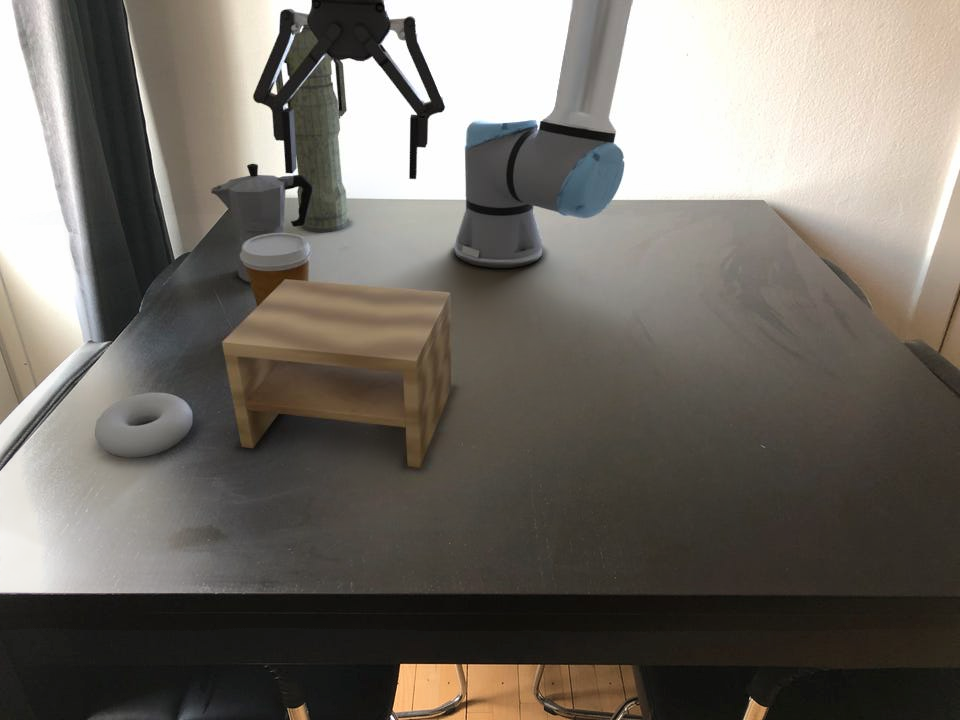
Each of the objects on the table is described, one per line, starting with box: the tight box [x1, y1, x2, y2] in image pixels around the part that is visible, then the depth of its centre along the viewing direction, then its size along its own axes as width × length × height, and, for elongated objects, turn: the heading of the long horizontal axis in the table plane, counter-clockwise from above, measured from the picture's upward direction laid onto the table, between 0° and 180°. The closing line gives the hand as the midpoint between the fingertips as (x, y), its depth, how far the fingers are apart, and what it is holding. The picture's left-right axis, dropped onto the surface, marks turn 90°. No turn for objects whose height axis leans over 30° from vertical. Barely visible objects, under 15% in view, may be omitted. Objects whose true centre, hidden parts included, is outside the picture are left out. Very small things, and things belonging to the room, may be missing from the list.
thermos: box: [275, 25, 349, 233], centre depth 134 cm, size 9×12×35 cm
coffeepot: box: [210, 163, 313, 283], centre depth 118 cm, size 15×9×18 cm, turn 113°
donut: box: [94, 392, 193, 458], centre depth 81 cm, size 10×4×10 cm
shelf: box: [221, 279, 452, 469], centre depth 83 cm, size 16×20×13 cm
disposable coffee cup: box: [240, 232, 313, 308], centre depth 103 cm, size 10×10×12 cm
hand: (352, 173), depth 83 cm, fingers open, 13 cm apart
